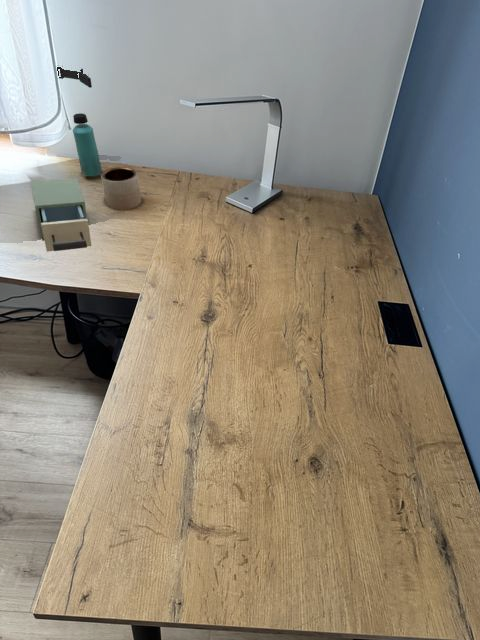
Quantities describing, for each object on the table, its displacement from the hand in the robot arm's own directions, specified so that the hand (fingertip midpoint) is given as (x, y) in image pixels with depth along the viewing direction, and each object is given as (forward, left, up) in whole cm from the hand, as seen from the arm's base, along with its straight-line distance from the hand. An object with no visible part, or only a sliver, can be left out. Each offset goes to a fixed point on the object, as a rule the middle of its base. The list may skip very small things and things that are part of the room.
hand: (69, 86), depth 156 cm
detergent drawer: (+4, -51, -25) cm, 57 cm away
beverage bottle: (+5, -6, -26) cm, 28 cm away
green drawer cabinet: (+1, -39, -26) cm, 47 cm away
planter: (+17, -24, -26) cm, 39 cm away
